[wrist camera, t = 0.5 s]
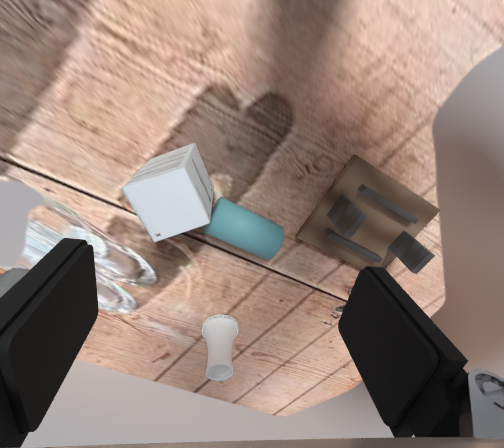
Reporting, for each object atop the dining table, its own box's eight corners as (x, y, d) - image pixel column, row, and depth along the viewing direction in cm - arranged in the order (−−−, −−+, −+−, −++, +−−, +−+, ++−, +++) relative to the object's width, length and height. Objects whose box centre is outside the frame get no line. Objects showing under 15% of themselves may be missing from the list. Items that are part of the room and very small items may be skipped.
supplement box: (215, 186, 42) (212, 225, 31) (171, 201, 43) (152, 245, 32) (196, 140, 39) (185, 165, 28) (148, 157, 39) (118, 188, 28)
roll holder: (354, 154, 42) (381, 170, 35) (435, 207, 48) (473, 230, 41) (295, 234, 48) (308, 262, 41) (374, 272, 54) (397, 303, 46)
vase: (237, 338, 59) (240, 384, 50) (202, 340, 58) (198, 386, 50) (238, 313, 56) (241, 357, 47) (201, 314, 55) (196, 360, 46)
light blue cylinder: (205, 221, 45) (202, 240, 40) (221, 191, 43) (221, 206, 38) (261, 247, 49) (266, 267, 43) (279, 220, 46) (287, 237, 41)
